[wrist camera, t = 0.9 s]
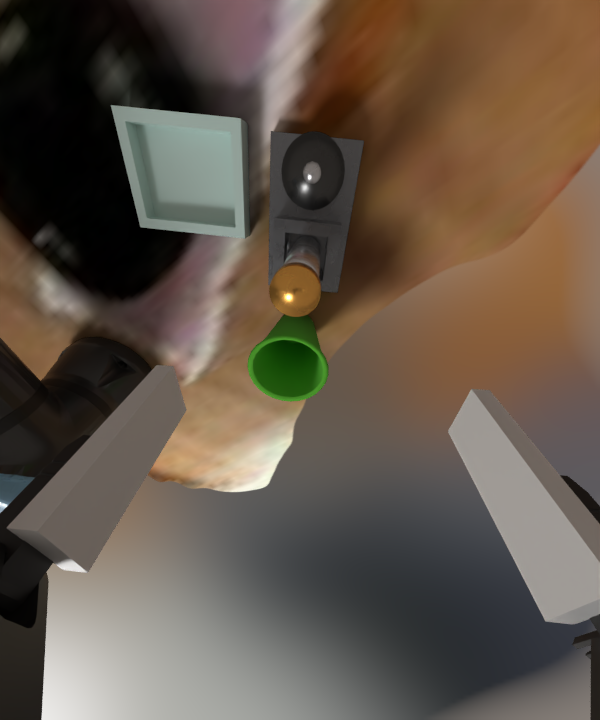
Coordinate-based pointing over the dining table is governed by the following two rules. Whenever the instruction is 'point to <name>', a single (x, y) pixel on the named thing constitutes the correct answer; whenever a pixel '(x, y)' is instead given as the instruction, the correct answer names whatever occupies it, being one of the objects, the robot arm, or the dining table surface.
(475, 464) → the robot arm
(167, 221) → the tray
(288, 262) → the pin
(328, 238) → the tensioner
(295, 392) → the cup
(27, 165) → the dining table surface
